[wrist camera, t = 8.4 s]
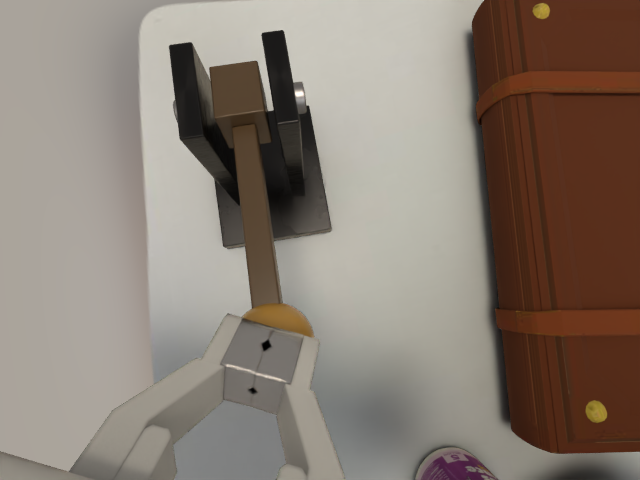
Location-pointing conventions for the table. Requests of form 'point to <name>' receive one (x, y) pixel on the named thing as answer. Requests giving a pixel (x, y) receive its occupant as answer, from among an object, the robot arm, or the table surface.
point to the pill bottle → (453, 466)
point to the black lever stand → (278, 156)
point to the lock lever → (253, 188)
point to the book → (565, 214)
